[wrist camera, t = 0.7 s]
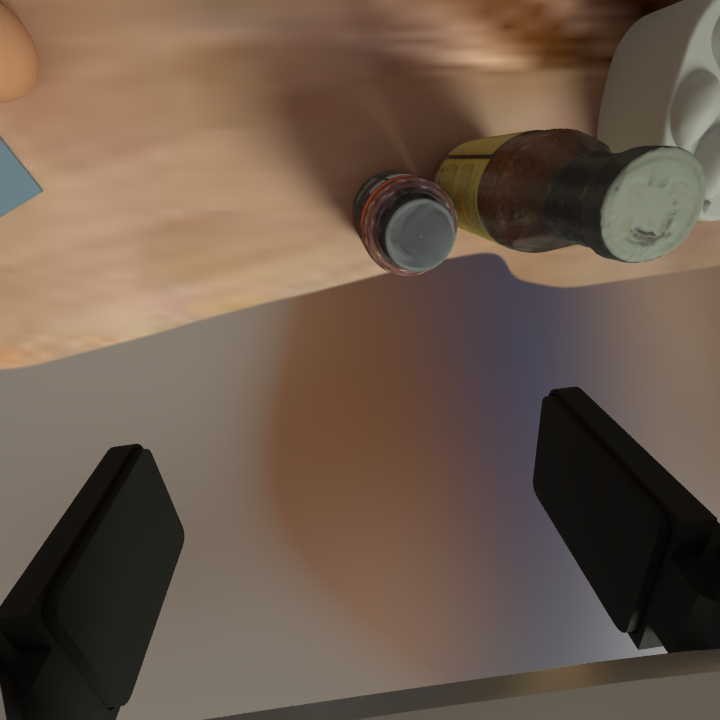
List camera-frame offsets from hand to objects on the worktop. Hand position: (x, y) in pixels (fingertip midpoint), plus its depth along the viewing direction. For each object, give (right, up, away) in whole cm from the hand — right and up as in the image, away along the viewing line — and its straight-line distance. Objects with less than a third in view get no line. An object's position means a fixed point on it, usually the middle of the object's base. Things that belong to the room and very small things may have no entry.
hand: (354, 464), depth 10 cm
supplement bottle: (+2, +14, +23) cm, 27 cm away
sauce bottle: (+9, +16, +23) cm, 29 cm away
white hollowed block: (+23, +21, +22) cm, 38 cm away
